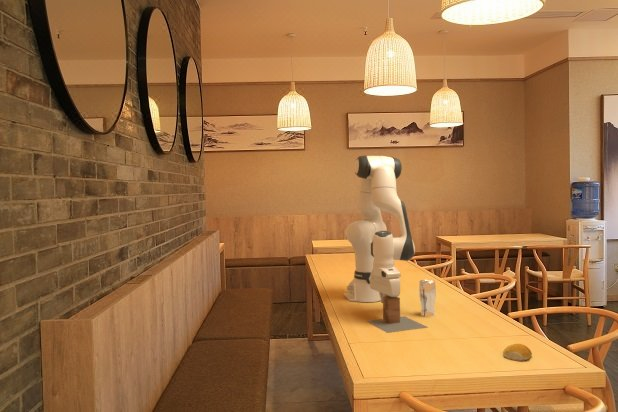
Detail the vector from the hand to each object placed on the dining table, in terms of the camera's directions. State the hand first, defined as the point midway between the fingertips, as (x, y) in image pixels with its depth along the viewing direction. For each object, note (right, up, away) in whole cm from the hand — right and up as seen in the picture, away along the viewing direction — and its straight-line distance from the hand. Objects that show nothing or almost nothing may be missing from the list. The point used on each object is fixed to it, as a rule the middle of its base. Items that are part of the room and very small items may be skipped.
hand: (384, 303), depth 213 cm
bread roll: (+36, -9, -47) cm, 60 cm away
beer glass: (+19, -6, +4) cm, 20 cm away
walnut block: (+2, -6, -5) cm, 9 cm away
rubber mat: (+3, -7, -9) cm, 12 cm away
